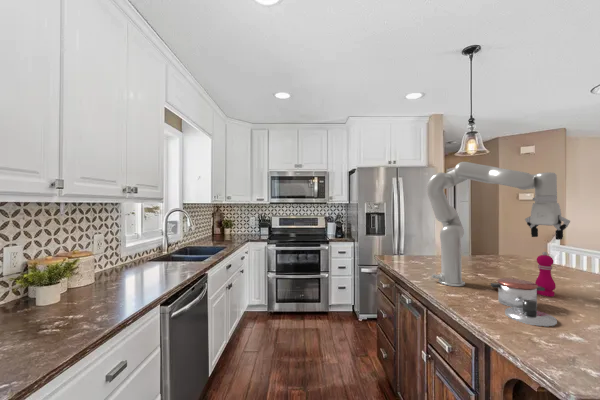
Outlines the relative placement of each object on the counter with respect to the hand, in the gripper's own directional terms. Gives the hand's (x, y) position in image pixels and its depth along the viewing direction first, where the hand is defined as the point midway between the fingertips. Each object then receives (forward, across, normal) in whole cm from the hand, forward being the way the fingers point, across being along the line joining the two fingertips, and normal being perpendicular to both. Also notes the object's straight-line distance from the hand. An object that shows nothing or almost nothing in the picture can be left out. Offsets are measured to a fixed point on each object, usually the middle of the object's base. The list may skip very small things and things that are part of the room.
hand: (546, 238), depth 126 cm
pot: (+27, +1, -19) cm, 33 cm away
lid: (+28, +13, -30) cm, 43 cm away
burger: (+28, -14, -5) cm, 31 cm away
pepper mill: (+27, -4, +6) cm, 28 cm away
